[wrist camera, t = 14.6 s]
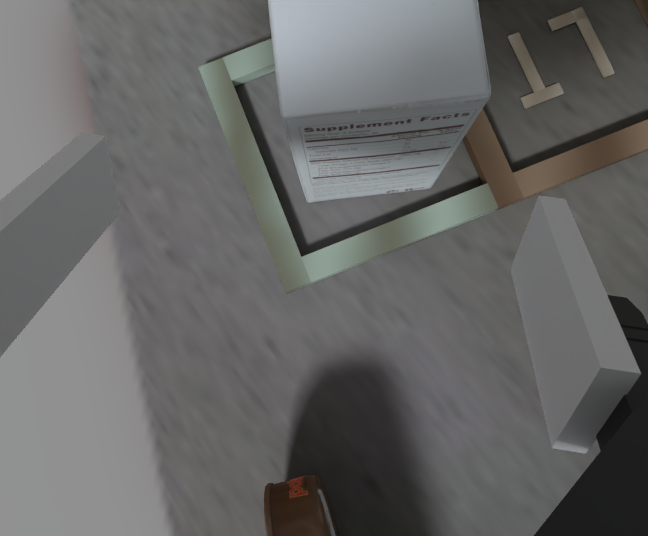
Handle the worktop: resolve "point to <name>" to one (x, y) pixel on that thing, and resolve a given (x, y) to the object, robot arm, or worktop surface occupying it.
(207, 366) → the worktop surface
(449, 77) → the supplement box
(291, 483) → the tin
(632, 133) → the metal double frame
